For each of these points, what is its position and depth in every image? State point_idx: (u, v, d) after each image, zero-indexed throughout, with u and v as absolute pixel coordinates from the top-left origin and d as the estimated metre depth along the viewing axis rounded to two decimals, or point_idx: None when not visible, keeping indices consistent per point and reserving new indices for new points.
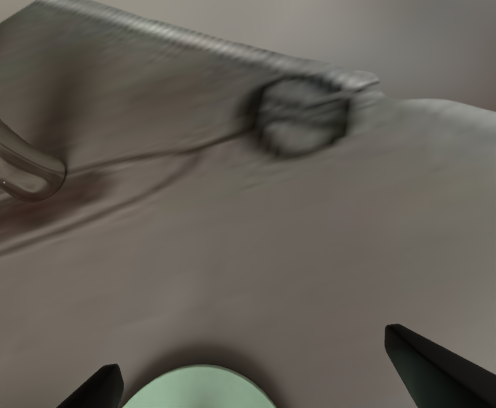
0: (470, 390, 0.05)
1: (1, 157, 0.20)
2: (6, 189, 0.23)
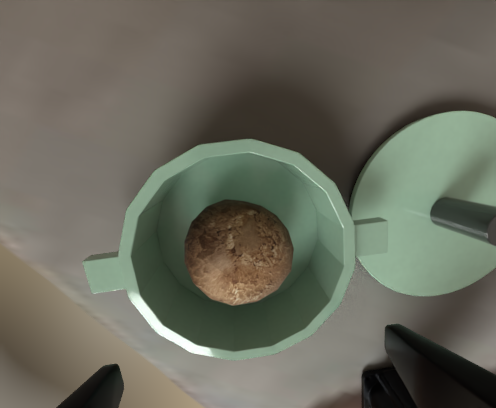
0: (470, 390, 0.05)
1: None
2: None
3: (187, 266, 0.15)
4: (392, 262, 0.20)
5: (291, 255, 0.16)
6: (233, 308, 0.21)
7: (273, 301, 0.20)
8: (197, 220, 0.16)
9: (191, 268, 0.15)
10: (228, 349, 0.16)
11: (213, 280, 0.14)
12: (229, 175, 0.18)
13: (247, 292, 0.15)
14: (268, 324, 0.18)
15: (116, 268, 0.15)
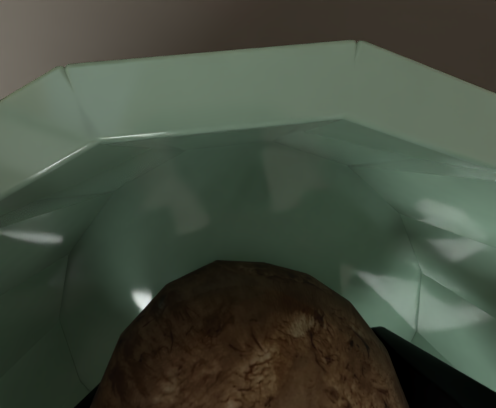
0: (446, 394, 0.05)
1: None
2: None
3: None
4: None
5: None
6: None
7: None
8: (127, 350, 0.05)
9: None
10: None
11: None
12: (230, 195, 0.08)
13: None
14: None
15: None
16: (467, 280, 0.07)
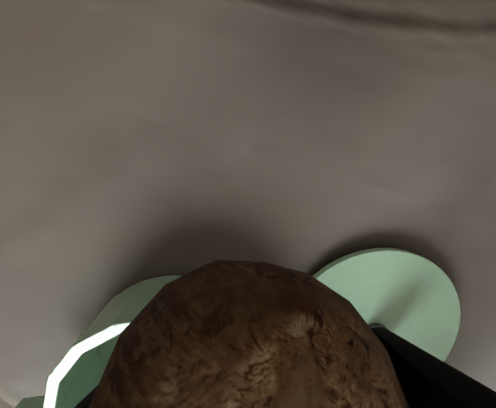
0: (446, 394, 0.05)
1: None
2: None
3: None
4: None
5: None
6: None
7: None
8: (126, 351, 0.05)
9: None
10: None
11: None
12: None
13: None
14: None
15: None
16: None
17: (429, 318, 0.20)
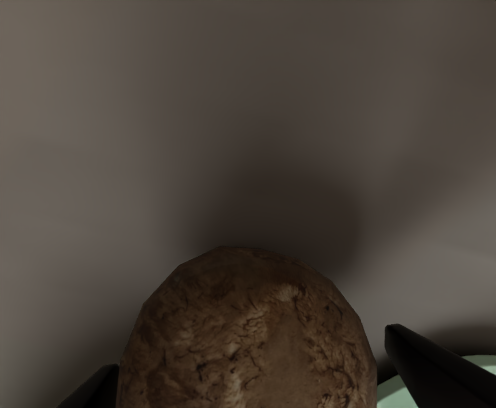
0: (470, 390, 0.05)
1: None
2: None
3: None
4: None
5: None
6: None
7: None
8: (151, 312, 0.06)
9: None
10: None
11: None
12: None
13: None
14: None
15: None
16: None
17: None
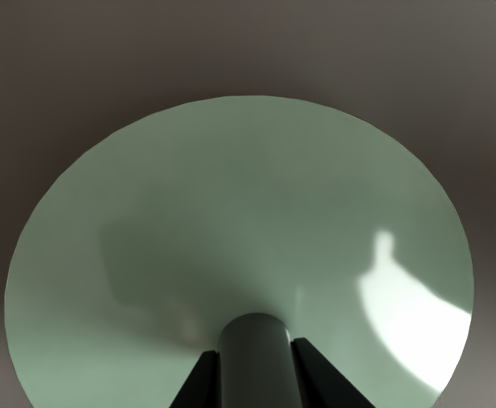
0: None
1: None
2: None
3: None
4: None
5: None
6: None
7: None
8: None
9: None
10: None
11: None
12: None
13: None
14: None
15: None
16: None
17: (207, 206, 0.07)
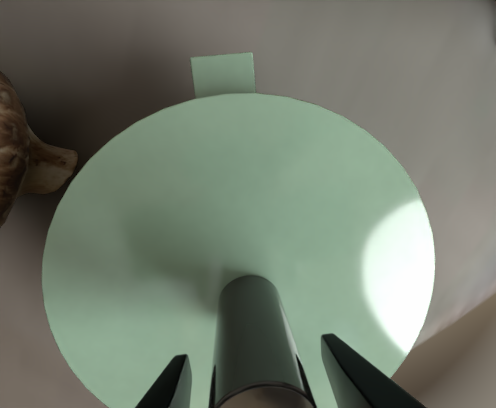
0: (373, 405, 0.05)
1: None
2: None
3: None
4: None
5: None
6: None
7: None
8: None
9: None
10: None
11: None
12: None
13: None
14: None
15: None
16: None
17: (210, 184, 0.08)
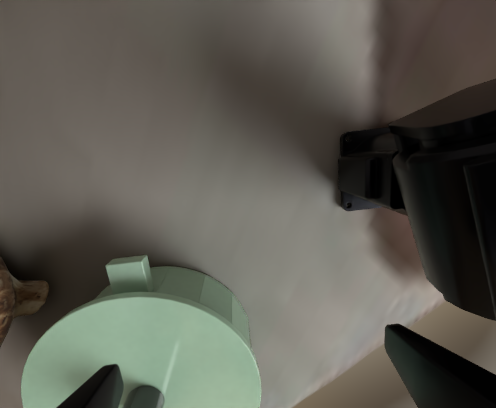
0: (470, 390, 0.05)
1: None
2: None
3: None
4: None
5: None
6: None
7: None
8: None
9: None
10: None
11: None
12: None
13: None
14: None
15: None
16: None
17: (115, 340, 0.15)
